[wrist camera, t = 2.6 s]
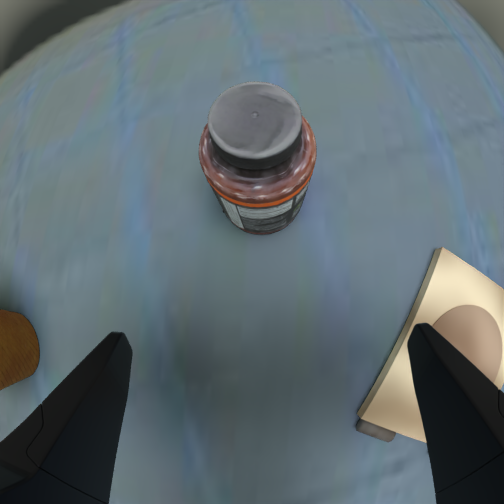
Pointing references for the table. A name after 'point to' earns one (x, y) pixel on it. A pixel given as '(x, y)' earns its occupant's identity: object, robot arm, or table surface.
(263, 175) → the supplement bottle
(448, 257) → the board
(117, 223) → the table surface
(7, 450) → the robot arm
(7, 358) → the disposable coffee cup
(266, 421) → the table surface
